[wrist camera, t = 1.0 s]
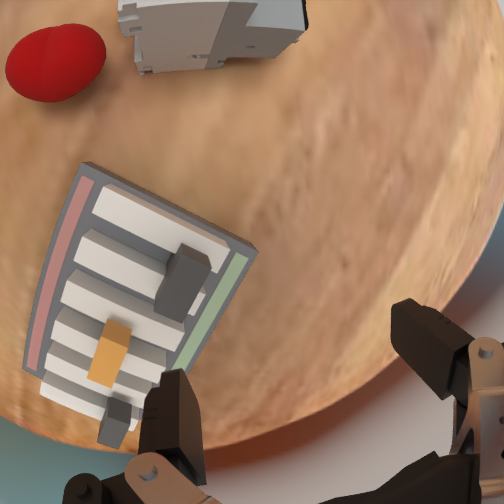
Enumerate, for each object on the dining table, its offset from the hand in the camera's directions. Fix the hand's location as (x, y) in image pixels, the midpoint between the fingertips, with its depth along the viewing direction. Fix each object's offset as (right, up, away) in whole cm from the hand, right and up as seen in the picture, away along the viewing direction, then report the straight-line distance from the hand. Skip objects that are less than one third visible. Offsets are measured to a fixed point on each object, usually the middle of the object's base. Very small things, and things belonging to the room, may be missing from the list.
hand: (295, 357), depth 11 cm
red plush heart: (-19, +21, +13) cm, 32 cm away
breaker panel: (-16, -3, +21) cm, 27 cm away
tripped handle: (-15, -4, +18) cm, 24 cm away
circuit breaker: (-6, +26, +15) cm, 31 cm away
